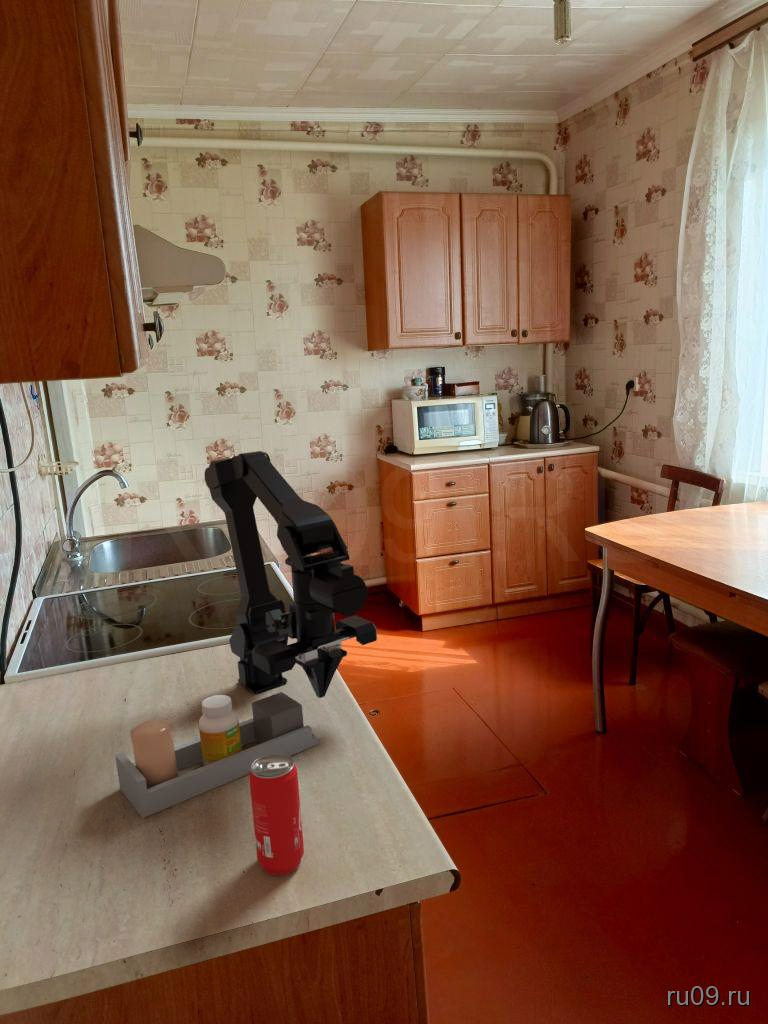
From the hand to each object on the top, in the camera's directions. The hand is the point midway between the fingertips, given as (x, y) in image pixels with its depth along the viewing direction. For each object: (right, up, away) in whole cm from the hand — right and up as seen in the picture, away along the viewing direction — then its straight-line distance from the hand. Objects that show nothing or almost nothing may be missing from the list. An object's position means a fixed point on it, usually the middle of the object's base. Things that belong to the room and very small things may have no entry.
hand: (320, 696), depth 112 cm
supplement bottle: (-13, -8, -9) cm, 17 cm away
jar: (-20, -9, -14) cm, 26 cm away
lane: (-13, -7, -9) cm, 17 cm away
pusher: (-6, -6, -4) cm, 9 cm away
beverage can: (-2, -11, -29) cm, 31 cm away
